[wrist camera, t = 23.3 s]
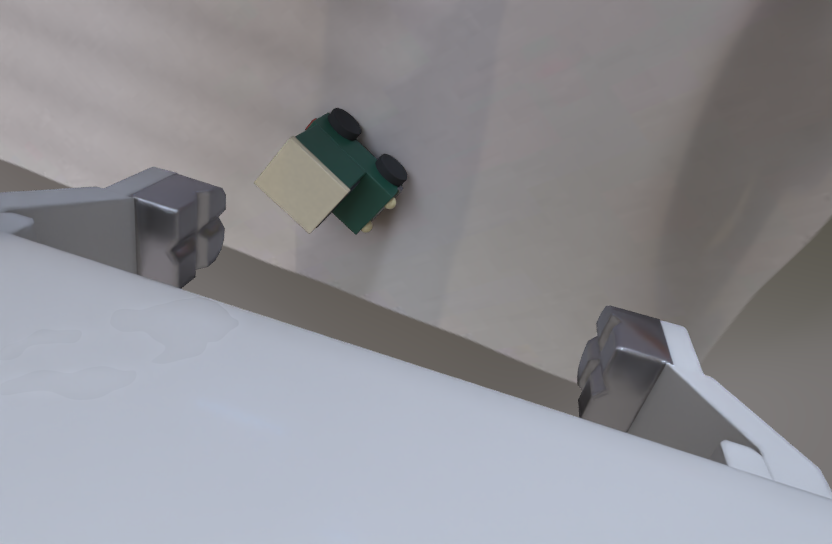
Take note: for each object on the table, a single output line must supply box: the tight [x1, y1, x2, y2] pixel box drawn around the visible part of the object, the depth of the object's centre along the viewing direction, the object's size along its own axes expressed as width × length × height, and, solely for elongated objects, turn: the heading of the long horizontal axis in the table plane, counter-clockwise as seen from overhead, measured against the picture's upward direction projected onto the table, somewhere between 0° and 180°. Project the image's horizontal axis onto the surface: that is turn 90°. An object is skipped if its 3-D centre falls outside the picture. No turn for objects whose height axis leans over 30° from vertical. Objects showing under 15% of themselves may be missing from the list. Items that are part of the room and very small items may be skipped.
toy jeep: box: [254, 108, 407, 234], centre depth 41 cm, size 8×6×8 cm
